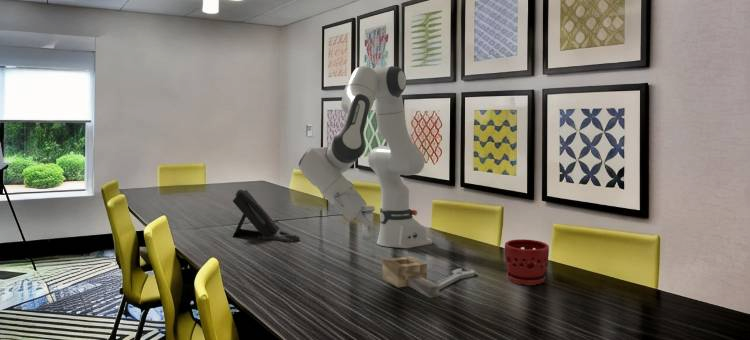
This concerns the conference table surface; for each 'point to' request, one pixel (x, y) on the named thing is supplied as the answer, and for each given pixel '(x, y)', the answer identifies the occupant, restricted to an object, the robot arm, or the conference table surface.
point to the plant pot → (526, 261)
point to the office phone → (258, 218)
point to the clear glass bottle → (369, 223)
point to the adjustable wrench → (455, 277)
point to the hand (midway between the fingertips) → (369, 223)
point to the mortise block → (409, 275)
